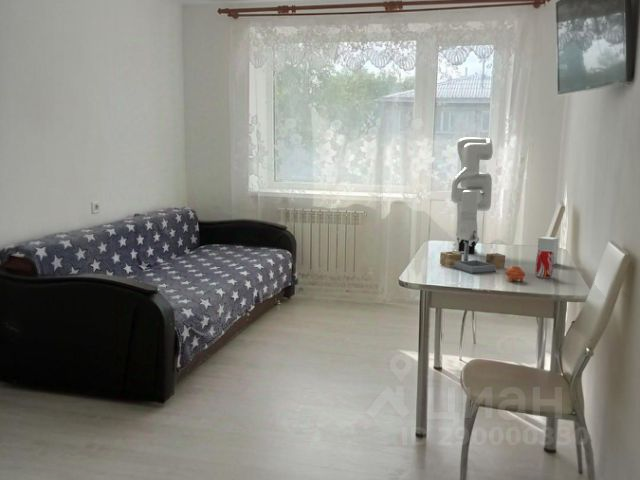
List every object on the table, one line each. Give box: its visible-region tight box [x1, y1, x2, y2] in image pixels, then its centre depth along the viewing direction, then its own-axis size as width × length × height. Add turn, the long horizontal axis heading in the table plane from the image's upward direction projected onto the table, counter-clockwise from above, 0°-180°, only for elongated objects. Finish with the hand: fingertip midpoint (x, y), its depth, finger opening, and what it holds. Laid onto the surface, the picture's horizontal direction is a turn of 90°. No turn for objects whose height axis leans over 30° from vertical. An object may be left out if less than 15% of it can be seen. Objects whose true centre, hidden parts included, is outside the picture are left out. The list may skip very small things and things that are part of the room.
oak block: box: [439, 250, 463, 268], centre depth 277 cm, size 7×7×6 cm
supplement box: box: [537, 236, 560, 265], centre depth 286 cm, size 7×7×13 cm
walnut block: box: [485, 252, 506, 270], centre depth 275 cm, size 6×6×6 cm
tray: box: [453, 259, 497, 275], centre depth 267 cm, size 13×13×3 cm
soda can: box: [534, 249, 554, 279], centre depth 255 cm, size 7×7×12 cm
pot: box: [505, 265, 526, 283], centre depth 247 cm, size 8×8×7 cm
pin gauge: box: [463, 240, 470, 261], centre depth 285 cm, size 2×2×12 cm
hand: (466, 252), depth 285 cm, fingers open, 6 cm apart
